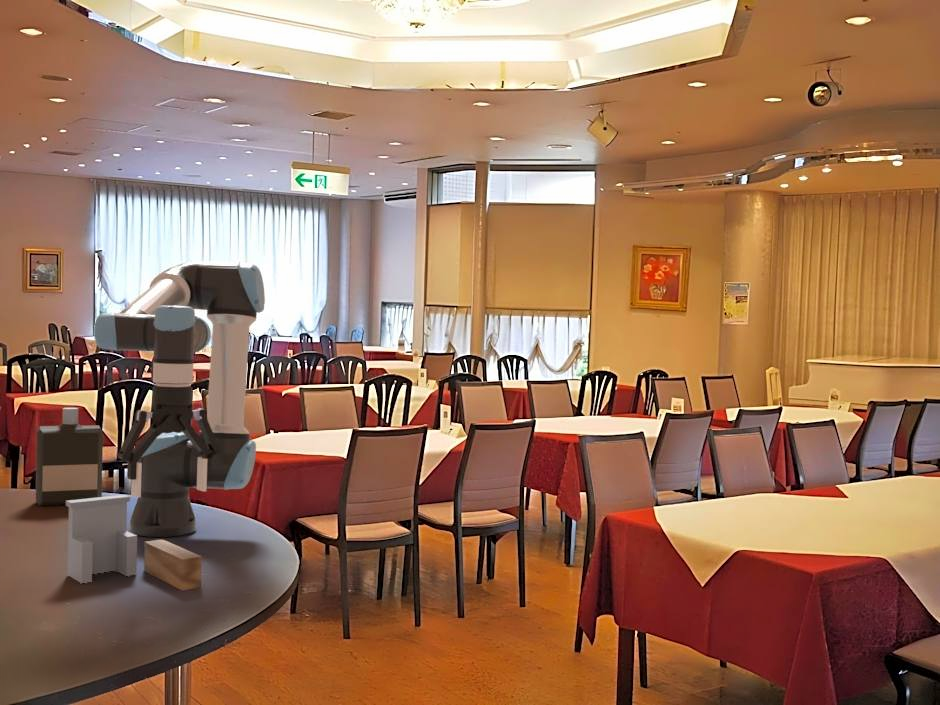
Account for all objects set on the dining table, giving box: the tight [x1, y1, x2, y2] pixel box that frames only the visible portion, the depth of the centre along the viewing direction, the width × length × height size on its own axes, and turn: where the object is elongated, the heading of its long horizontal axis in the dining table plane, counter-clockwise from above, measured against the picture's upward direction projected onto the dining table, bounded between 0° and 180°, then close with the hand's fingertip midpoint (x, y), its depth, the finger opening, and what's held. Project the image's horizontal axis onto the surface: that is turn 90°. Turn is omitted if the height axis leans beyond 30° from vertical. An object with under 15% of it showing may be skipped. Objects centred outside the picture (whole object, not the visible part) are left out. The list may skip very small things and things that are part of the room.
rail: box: [143, 539, 203, 591], centre depth 201 cm, size 4×17×6 cm, turn 43°
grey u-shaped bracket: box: [65, 494, 138, 584], centre depth 201 cm, size 12×7×15 cm, turn 133°
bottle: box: [35, 407, 104, 507], centre depth 267 cm, size 8×16×25 cm, turn 115°
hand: (169, 493), depth 198 cm, fingers open, 13 cm apart
